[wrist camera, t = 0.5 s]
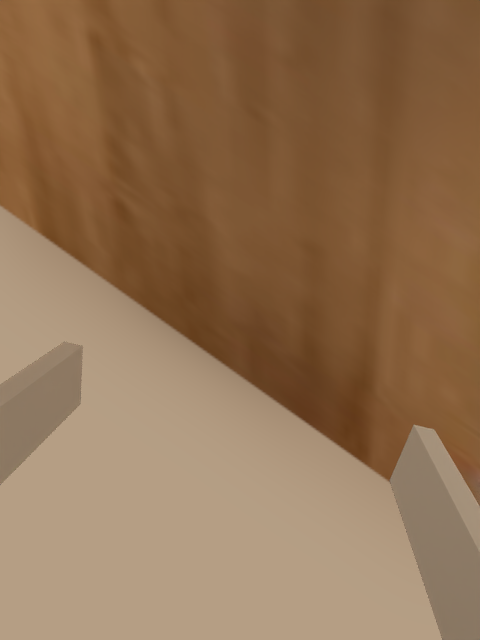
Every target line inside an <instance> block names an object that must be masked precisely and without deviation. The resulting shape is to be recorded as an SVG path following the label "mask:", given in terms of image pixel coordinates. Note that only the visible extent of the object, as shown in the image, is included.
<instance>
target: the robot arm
mask: <svg viewBox="0 0 480 640" xmlns="http://www.w3.org/2000/svg"><path fill="white" fill-rule="evenodd" d="M82 349H83V347H82V346H80V345H76V344H72V343H68V342H63V343H62V344H60V345H59V346H57V347H56V348H54V349H53V350H51V351H50V352H48V353H47V354H45V355H44V356H42V357H41V358H39V359H38V360H37V361H35V362H33V363H32V364H30V365H29V366H27V367H26V368H24V369H23V370H21V371H20V372H19V373H17V374H15V375H14V376H12V377H11V378H9V379H8V380H6V381H5V382H3V383H2V384H0V485H1V484H2V483H3V482H4V481H5V480H6V479H7V478H8V477H9V476H10V475H11V474H12V473H13V472H14V471H15V470H16V468H18V467H19V466H20V465H21V464H22V462H24V461H25V459H26V458H27V457H28V456H29V455H30V454H31V453H32V452H33V451H34V450H35V449H36V448H37V447H38V446H39V445H40V444H41V443H42V442H43V441H44V440H45V439H46V438H47V437H48V436H49V435H50V434H51V433H52V432H53V431H54V430H55V429H56V428H57V427H58V426H59V425H60V424H61V423H62V422H63V421H64V420H65V419H66V418H67V417H68V416H69V415H70V414H71V413H72V412H73V411H74V410H75V409H76V408H77V407H78V406H79V405H80V400H81V375H82ZM390 484H391V486H392V490H393V493H394V496H395V499H396V502H397V505H398V508H399V511H400V514H401V517H402V520H403V523H404V526H405V529H406V532H407V535H408V538H409V541H410V543H411V547H412V550H413V552H414V555H415V559H416V562H417V565H418V568H419V571H420V574H421V577H422V580H423V582H424V586H425V589H426V592H427V595H428V598H429V601H430V604H431V607H432V610H433V613H434V616H435V619H436V622H437V625H438V628H439V631H440V634H441V637H442V640H480V506H479V505H478V503H477V501H476V499H475V498H474V496H473V494H472V493H471V491H470V489H469V488H468V486H467V484H466V483H465V481H464V479H463V477H462V476H461V474H460V472H459V471H458V469H457V467H456V466H455V464H454V462H453V460H452V459H451V457H450V455H449V454H448V452H447V450H446V449H445V447H444V445H443V444H442V442H441V440H440V438H439V437H438V435H437V433H436V432H435V430H434V429H430V428H425V427H421V426H417V425H413V428H412V430H411V432H410V435H409V437H408V439H407V441H406V444H405V446H404V448H403V451H402V453H401V455H400V458H399V460H398V462H397V465H396V467H395V469H394V471H393V474H392V476H391V478H390Z"/></svg>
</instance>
